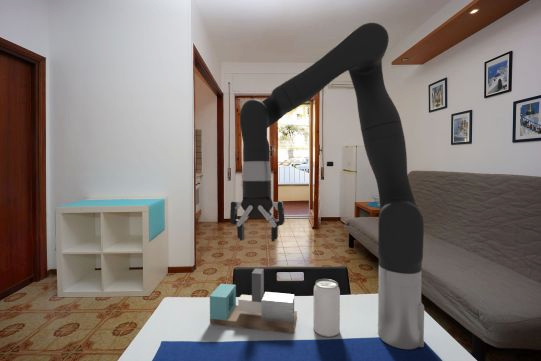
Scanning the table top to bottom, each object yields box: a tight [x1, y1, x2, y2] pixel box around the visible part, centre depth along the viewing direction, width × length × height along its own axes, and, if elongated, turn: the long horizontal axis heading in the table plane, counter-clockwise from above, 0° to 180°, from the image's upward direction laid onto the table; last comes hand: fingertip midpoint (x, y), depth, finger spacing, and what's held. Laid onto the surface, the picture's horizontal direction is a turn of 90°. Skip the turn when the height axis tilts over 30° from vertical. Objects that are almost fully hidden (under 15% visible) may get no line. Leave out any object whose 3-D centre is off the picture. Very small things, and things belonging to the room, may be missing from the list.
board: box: [209, 304, 298, 334], centre depth 73 cm, size 22×8×2 cm, turn 79°
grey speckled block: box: [261, 291, 295, 324], centre depth 72 cm, size 8×5×5 cm, turn 79°
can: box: [313, 278, 341, 338], centre depth 68 cm, size 6×6×12 cm
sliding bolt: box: [237, 268, 265, 313], centre depth 72 cm, size 14×4×10 cm, turn 79°
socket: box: [209, 283, 237, 320], centre depth 75 cm, size 4×8×6 cm, turn 169°
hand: (257, 240), depth 72 cm, fingers open, 8 cm apart
